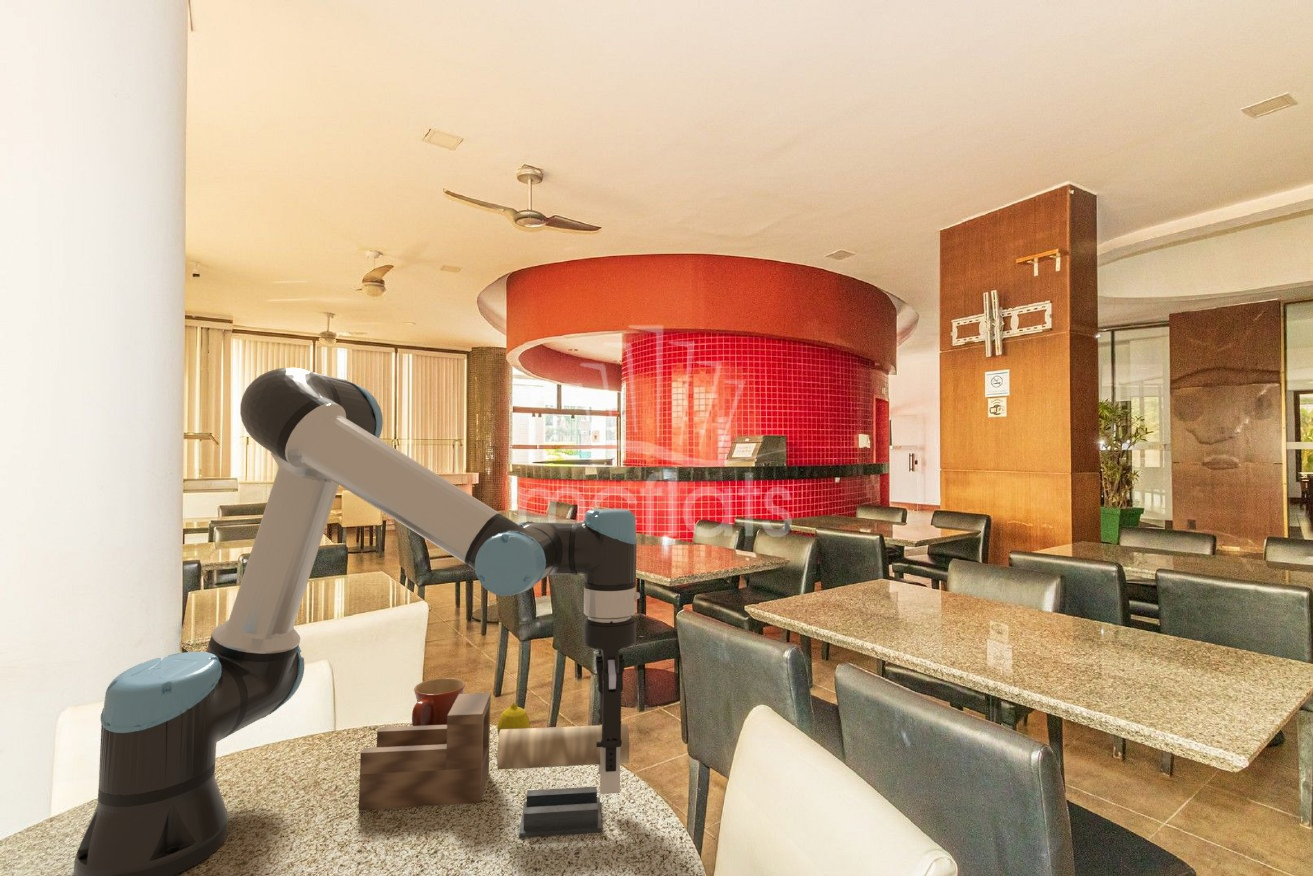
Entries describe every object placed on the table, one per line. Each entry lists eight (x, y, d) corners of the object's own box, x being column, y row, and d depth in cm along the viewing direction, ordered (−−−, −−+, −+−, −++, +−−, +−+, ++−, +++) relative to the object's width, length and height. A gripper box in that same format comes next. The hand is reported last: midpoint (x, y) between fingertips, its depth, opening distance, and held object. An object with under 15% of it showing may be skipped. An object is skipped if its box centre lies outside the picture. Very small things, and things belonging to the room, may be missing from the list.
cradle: (518, 838, 82) (519, 817, 82) (524, 806, 89) (524, 787, 90) (601, 832, 83) (601, 812, 83) (599, 801, 91) (599, 783, 91)
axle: (496, 777, 83) (497, 742, 83) (501, 755, 88) (501, 722, 88) (628, 770, 86) (629, 736, 85) (625, 749, 91) (626, 717, 90)
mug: (430, 732, 115) (431, 676, 115) (472, 736, 113) (474, 679, 114) (390, 761, 103) (392, 698, 104) (437, 766, 101) (439, 703, 102)
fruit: (519, 758, 104) (520, 710, 105) (490, 754, 106) (491, 706, 106) (534, 745, 110) (535, 699, 110) (507, 740, 111) (508, 695, 112)
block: (358, 810, 88) (361, 719, 89) (378, 779, 97) (381, 696, 98) (480, 803, 90) (482, 714, 91) (488, 773, 99) (490, 692, 100)
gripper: (642, 631, 80) (641, 815, 79) (630, 602, 98) (629, 752, 97) (584, 633, 79) (583, 819, 78) (583, 604, 97) (582, 755, 96)
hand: (608, 781), depth 87 cm, fingers closed on axle, 5 cm apart
